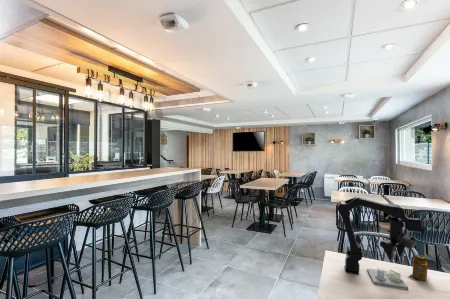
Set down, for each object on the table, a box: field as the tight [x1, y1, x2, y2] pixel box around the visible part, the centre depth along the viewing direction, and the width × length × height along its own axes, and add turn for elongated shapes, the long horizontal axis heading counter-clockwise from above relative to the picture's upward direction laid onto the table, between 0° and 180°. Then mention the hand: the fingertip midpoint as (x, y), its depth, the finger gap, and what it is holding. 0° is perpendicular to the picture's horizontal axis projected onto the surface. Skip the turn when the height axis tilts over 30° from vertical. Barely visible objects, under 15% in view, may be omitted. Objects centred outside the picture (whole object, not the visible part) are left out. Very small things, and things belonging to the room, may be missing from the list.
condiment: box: [407, 254, 431, 285], centre depth 126 cm, size 7×8×12 cm
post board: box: [366, 267, 409, 290], centre depth 125 cm, size 15×13×6 cm
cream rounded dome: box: [387, 269, 404, 281], centre depth 124 cm, size 7×5×3 cm
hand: (395, 257), depth 124 cm, fingers open, 9 cm apart
